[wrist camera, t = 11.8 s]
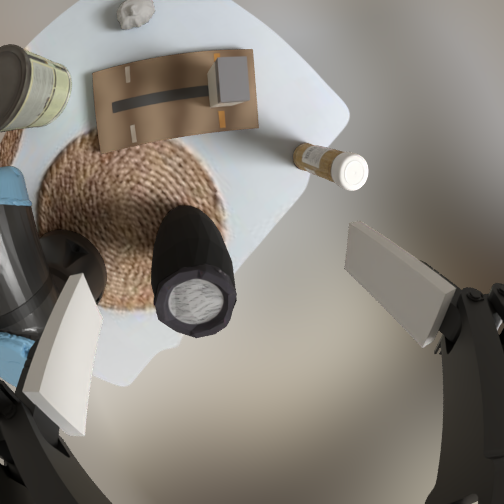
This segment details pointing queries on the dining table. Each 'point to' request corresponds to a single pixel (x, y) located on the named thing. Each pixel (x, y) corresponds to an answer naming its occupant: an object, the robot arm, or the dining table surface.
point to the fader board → (166, 100)
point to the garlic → (135, 13)
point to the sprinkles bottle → (332, 165)
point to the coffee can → (30, 89)
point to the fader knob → (228, 81)
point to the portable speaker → (192, 274)
